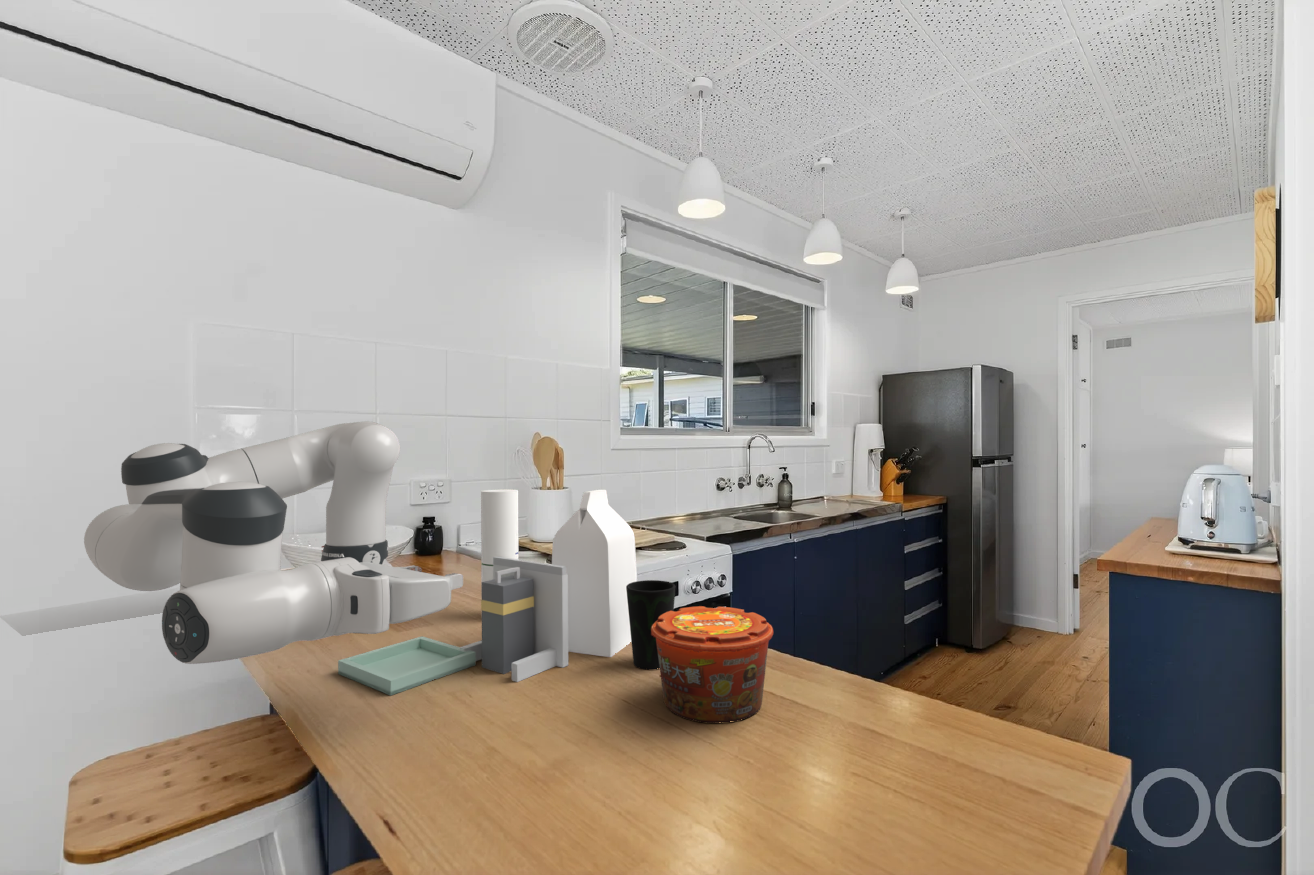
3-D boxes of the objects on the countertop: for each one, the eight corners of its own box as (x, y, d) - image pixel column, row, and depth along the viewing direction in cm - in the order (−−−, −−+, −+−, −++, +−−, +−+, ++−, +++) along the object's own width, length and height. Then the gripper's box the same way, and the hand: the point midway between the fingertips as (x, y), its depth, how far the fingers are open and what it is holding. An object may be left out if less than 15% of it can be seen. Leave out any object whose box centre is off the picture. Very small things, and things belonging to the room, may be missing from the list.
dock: (454, 661, 96) (453, 564, 96) (499, 646, 103) (498, 556, 103) (523, 684, 87) (523, 576, 87) (568, 665, 94) (567, 566, 94)
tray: (338, 673, 91) (338, 660, 91) (422, 648, 102) (422, 636, 102) (390, 695, 83) (390, 680, 83) (475, 665, 94) (475, 652, 94)
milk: (610, 657, 97) (609, 494, 98) (548, 648, 102) (547, 492, 102) (640, 635, 109) (639, 489, 109) (583, 628, 113) (582, 487, 113)
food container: (687, 741, 70) (686, 647, 70) (632, 691, 84) (632, 612, 84) (800, 714, 76) (799, 628, 76) (731, 672, 91) (730, 599, 91)
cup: (652, 651, 100) (651, 577, 100) (686, 662, 95) (685, 585, 95) (616, 663, 95) (616, 585, 95) (650, 676, 89) (650, 594, 89)
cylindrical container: (523, 612, 124) (522, 489, 125) (511, 622, 117) (511, 491, 117) (489, 611, 125) (489, 489, 125) (475, 621, 118) (475, 491, 118)
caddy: (481, 667, 93) (481, 570, 94) (512, 655, 98) (511, 564, 99) (503, 674, 90) (503, 574, 91) (534, 662, 95) (533, 568, 96)
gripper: (297, 609, 79) (396, 588, 91) (384, 637, 67) (485, 609, 79) (297, 560, 79) (396, 546, 91) (383, 579, 67) (485, 560, 79)
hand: (438, 575), depth 85 cm, fingers open, 8 cm apart
